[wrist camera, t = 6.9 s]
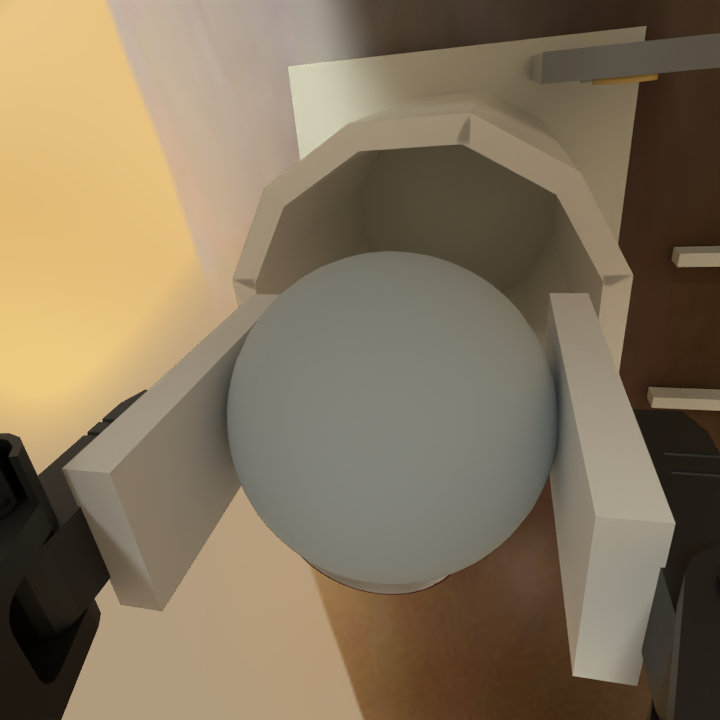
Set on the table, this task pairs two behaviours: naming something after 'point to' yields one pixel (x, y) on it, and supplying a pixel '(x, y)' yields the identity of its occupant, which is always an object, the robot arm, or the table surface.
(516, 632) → the table surface
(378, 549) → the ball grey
